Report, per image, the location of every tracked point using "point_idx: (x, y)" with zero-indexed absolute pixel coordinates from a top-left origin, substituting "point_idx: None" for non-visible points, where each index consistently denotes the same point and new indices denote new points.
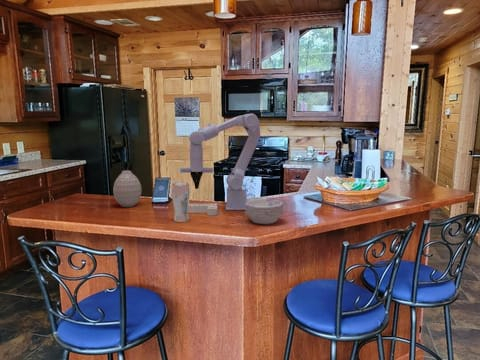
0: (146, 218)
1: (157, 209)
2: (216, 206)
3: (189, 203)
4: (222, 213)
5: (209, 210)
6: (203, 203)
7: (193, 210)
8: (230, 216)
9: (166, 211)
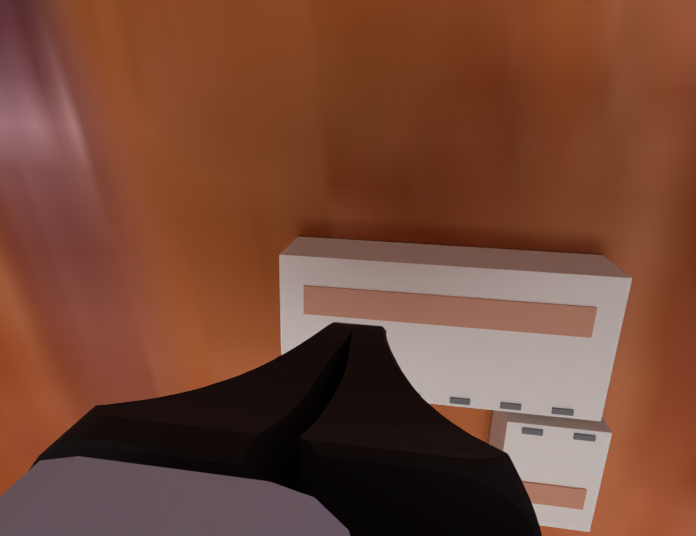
0: None
1: (14, 212)
2: (598, 452)
3: (292, 275)
4: (635, 413)
5: None
6: (456, 300)
7: None
8: (692, 514)
9: (114, 293)
